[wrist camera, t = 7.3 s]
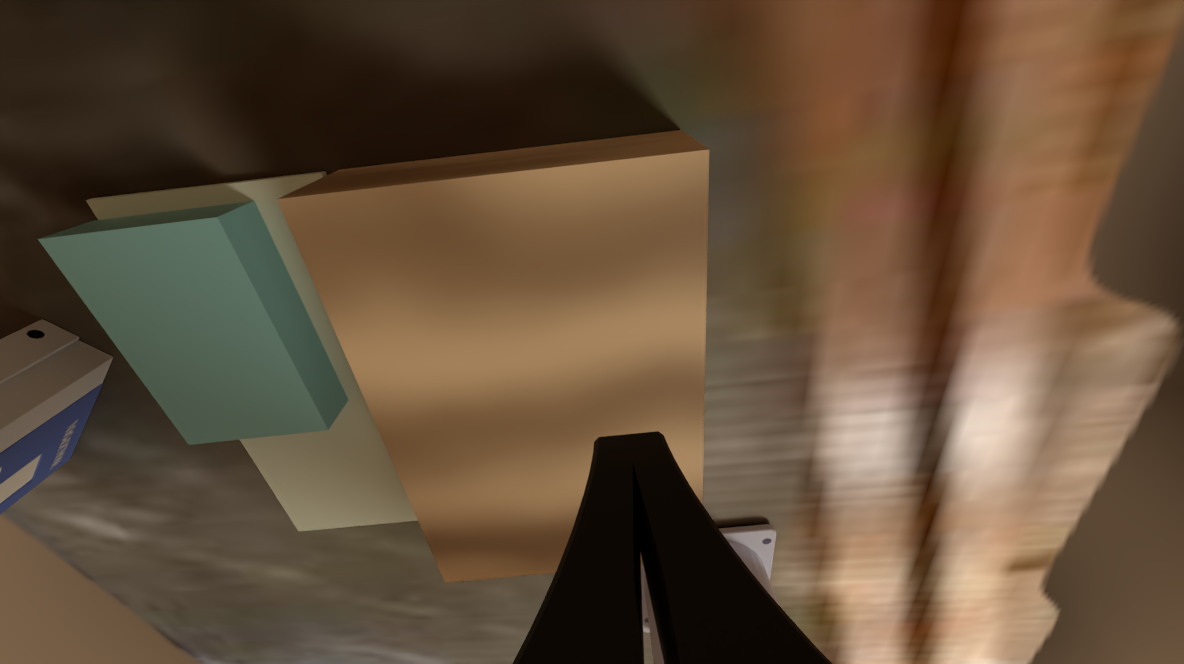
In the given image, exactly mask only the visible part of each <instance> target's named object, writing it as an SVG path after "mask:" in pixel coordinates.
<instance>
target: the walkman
mask: <svg viewBox="0 0 1184 664" xmlns="http://www.w3.org/2000/svg"><path fill="white" fill-rule="evenodd" d="M112 359H113V356H111V355H109V354H106V353H104V352H102V351H100V350H98V349H96V348H94V347H92V346H90V345H88V344H85V343H83V342H81V341H79V337H78V336H76V335H74V334H72V333H70V332H68V331H66V330H64V329H62V328H60V327H58V326H56V325H54V324H52V323H49V322H47V321H45V320H43V319H41V320H39V321H37V322H35V323H33V324H31V325H29V326H27V327H25V328H23V329H21V330H19V331H17V332H14V333H12V334H10V335H8V336H6V337H4V338H2V339H0V514H1V513H2V512H4V511H5V510H6V509H7V508H9V507H10V506H11V505H13V504H14V503H15V502H16V501H18V500H19V499H20V498H21V497H23V496H24V495H25V494H26V493H28V492H29V491H30V490H32V489H33V488H34V487H35V486H37V485H38V484H39V483H40V482H42V481H43V480H44V479H45V478H47V477H48V476H49V475H50V474H52V473H53V472H54V471H56V470H57V469H58V468H59V467H61V466H62V465H63V464H64V463H66V462H67V461H68V460H69V459H70V458H71V456H72V454H73V452H74V449H75V447H76V445H77V442H78V440H79V438H80V436H81V433H82V431H83V429H84V426H85V424H86V422H87V420H88V417H89V415H90V413H91V410H92V408H93V406H94V404H95V401H96V399H97V397H98V394H99V392H100V390H101V387H102V385H103V380H104V378H105V376H106V373H107V371H108V369H109V366H110V364H111V362H112Z"/></svg>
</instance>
